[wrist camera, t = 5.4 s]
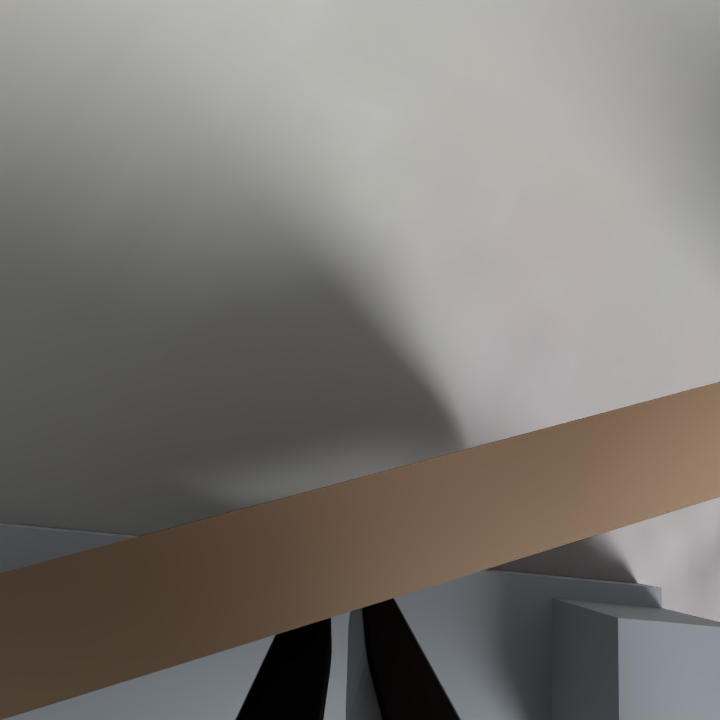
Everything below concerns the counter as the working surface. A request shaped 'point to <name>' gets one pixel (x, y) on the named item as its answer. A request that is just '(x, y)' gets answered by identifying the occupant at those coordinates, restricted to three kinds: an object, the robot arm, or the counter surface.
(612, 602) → the gate frame
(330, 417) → the counter surface
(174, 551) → the gate leaf
